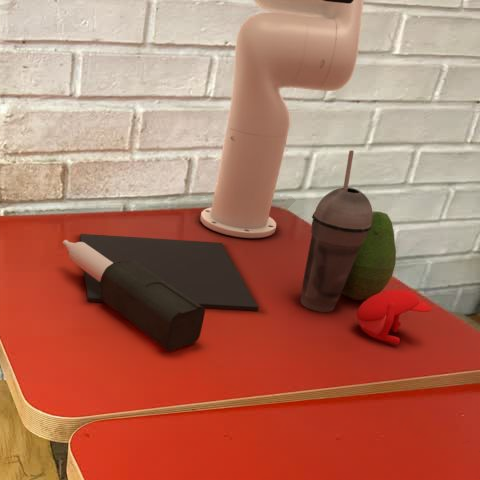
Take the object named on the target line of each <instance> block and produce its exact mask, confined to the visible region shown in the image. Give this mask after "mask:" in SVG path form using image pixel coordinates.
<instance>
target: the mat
mask: <svg viewBox="0 0 480 480" xmlns="http://www.w3.org/2000/svg"><path fill="white" fill-rule="evenodd" d="M79 240H80V242H84V243H85V244H87V245H88V246H90V247H91V248H93V249H94V250H95V251H97V252H98V253H100V254H101V255H103V256H104V257H106V258H107V259H108V260H110V261H111V262H113V263H119V261H121V262H124V261H129V260H133V261H135V262H136V263H138V264H139V265H141V266H142V267H144V268H145V269H147V270H148V271H150V272H151V273H153V274H154V275H156V276H157V277H159V278H160V279H162V280H163V281H165V282H166V283H168V284H169V285H171V286H172V287H174V288H175V289H177V290H178V291H180V292H181V293H183V294H184V295H186V296H187V297H188V298H190V299H191V300H193V301H194V302H196V303H197V304H199V305H200V306H202V307H203V308H204V309H215V310H231V311H232V310H235V311H254V312H258V311H259V305H258V304H257V302H256V299H255V298H254V297H253V295H252V293H251V290H249V287H248V286H247V283H245V281H244V278H243V277H242V276H241V274H240V272H239V270H238V269H237V267H236V265H235V263H234V261H233V259H232V258H231V256H230V255H229V253H228V251H227V249H226V248H225V246H224V244H223V243H222V242H216V241H200V240H185V239H168V238H152V237H137V236H123V235H108V234H107V235H105V234H91V233H90V234H89V233H79ZM83 273H84V280H85V289H86V298H87V302H88V303H100V304H101V303H104V304H106V303H105V302H104V301H103V300H102V299H101V288H100V282H99V281H98V280H97V279H95V278H94V277H92V276H91V275H90V274H88V273H87V272H86V271H84V270H83Z"/></svg>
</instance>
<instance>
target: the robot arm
mask: <svg viewBox="0 0 480 480" xmlns="http://www.w3.org/2000/svg"><path fill="white" fill-rule="evenodd" d="M253 2H254V3H255V5H256V6H257V7H258V8H259V9H260V10H263V11H264V12H260V13H257V14H254V15H251V16H249V17H248V18H247V19H245V20H244V22H243V23H242V24H241V26H240V27H239V30H238V32H237V35H236V40H235V49H234V50H235V51H234V70H233V83H232V91H231V92H232V93H231V100H230V105H229V111H228V118H227V124H226V129H225V132H224V133H225V134H224V139H223V146H222V149H221V150H222V151H221V156H220V159H219V166H218V171H217V177H216V183H215V188H214V193H213V198H212V204H211V207H207V208H205V209H203V210H202V211H201V213H200V218H199V219H200V220H199V221H200V222H201V223H202V225H203V226H204V227H206V228H207V229H210V230H212V231H213V232H217V233H219V234H222V235H225V236H229V237H235V238H241V239H242V238H243V239H263V238H267V237H271V236H272V235H274V234H275V232H276V228H277V222H276V221H275V220H274V219H273V218H272V217H271V216H270V213H271V210H272V204H273V200H274V195H275V191H276V189H277V188H276V187H277V183H278V179H279V175H280V170H281V165H282V161H283V158H284V155H285V154H284V153H285V150H286V149H285V148H286V144H287V140H288V137H289V131H290V128H291V113H290V110H289V107H288V105H287V103H286V102H285V100H284V98H283V96H282V94H281V89H284V88H287V89H291V88H292V89H293V88H294V89H301V90H309V91H310V90H311V91H321V92H333V91H338V90H340V89H342V88H344V87H345V86H346V85H347V84H348V83H349V81H350V80H351V78H352V76H353V74H354V71H355V68H356V65H357V60H358V54H359V49H360V48H359V45H360V37H361V31H362V30H361V28H362V19H363V12H364V11H363V9H364V0H253Z"/></svg>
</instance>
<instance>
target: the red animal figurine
mask: <svg viewBox="0 0 480 480" xmlns="http://www.w3.org/2000/svg"><path fill="white" fill-rule="evenodd" d="M408 311H412V312H419V313H428V312H431V311H433V308H432V306H431V305H430V304H428V303H427V302H425V301H423V300H421V299H419V298H418V295H416V294H415V293H414V292H412V291H409V290H407V289H389V290H384V291H381V292H380V293H378V294H376V295H374V296H372V297H370V298H368V299H365V300H364V301H363V302H362V303H361V304H360V306H359V307H358V309H357V312H356V318H357V321H358V324H359V326H360V329H361V331H363V332H364V333H365V334H367V335H368V336H369V337H371V338H374V339H376V340H378V341H382V342H386V343H390V344H394V345H398V344H399V343H400V342H401V339H400V337H398V336H394V335H390V334H389V332H390V331H391V332H392V333H397V332H398V331H399V328H400V326H401V324H402V323H401V321H400V316H401V315H402V314H404V313H406V312H408Z"/></svg>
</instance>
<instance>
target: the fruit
mask: <svg viewBox="0 0 480 480" xmlns="http://www.w3.org/2000/svg"><path fill="white" fill-rule="evenodd" d="M396 258H397V249H396V241H395V232H394V225H393V222H392V220H391V217H390V216H389V215H388V213H385V212H382V211H373V210H372V224H371V230H369V232H368V235H367V237H366V239H365V240H364V242H363V243H362V244H361V247H360V249H359V251H358V254H357V256H356V259H355V261H354V264H353V266H352V268H351V271H350V273H349V276H348V278H347V280H346V283H345V285H344V288H343V290H342V292H341V294H343V295H344V296H346V297H347V298H349V299H352V300H354V301H366V300H367V299H368V298H370V297H372V296H374V295H376V294H378V293H381V292H383V290H384V289H385V288H386V287H387V285H388V284H389V282H390V281H391V279H392V277H393V275H394V271H395V267H396V261H397V260H396Z"/></svg>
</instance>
